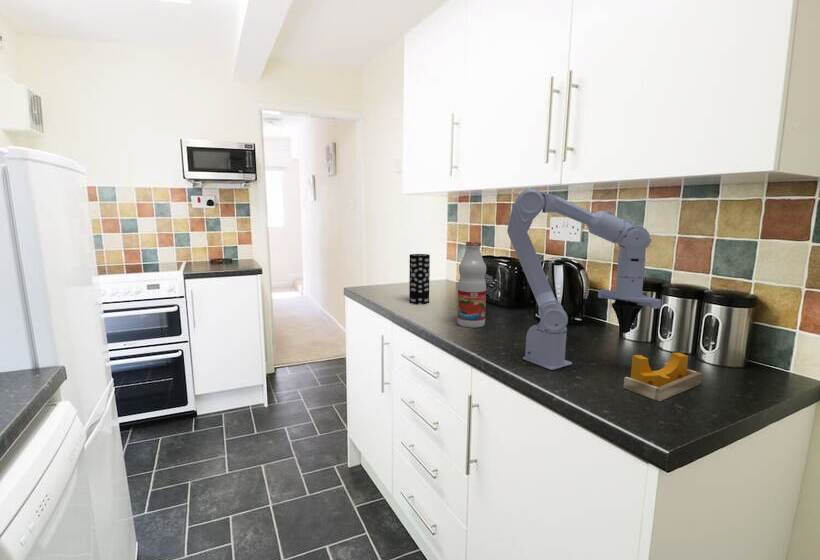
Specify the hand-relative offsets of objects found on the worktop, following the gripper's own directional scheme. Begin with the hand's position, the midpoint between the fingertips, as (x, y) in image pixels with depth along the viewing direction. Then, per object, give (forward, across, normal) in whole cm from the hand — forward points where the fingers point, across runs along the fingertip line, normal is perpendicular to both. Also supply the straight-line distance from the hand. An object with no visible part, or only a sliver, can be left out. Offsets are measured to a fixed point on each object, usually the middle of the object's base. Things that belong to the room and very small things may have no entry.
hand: (624, 331), depth 103 cm
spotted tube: (+10, +89, +1) cm, 90 cm away
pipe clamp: (+10, -10, +1) cm, 14 cm away
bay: (+9, -11, +2) cm, 15 cm away
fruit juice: (+10, +51, +5) cm, 52 cm away
